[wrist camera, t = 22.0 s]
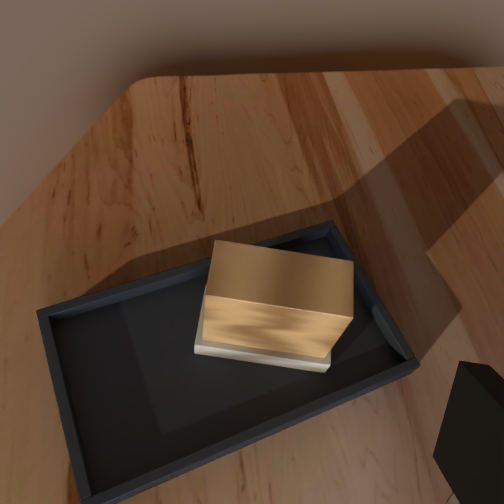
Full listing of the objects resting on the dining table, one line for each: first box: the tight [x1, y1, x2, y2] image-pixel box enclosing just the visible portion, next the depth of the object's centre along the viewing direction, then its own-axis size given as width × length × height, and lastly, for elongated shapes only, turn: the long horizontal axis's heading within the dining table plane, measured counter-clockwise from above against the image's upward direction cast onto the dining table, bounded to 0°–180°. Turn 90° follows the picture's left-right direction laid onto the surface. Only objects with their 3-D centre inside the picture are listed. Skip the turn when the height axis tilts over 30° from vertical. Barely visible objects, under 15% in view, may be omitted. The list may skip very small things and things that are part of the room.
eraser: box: [194, 239, 354, 373], centre depth 37 cm, size 11×6×10 cm, turn 83°
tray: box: [36, 220, 420, 504], centre depth 40 cm, size 16×28×2 cm, turn 113°
